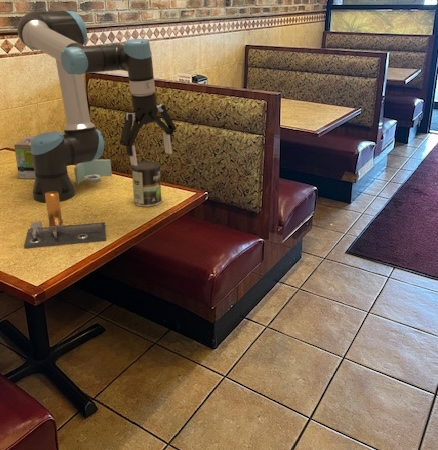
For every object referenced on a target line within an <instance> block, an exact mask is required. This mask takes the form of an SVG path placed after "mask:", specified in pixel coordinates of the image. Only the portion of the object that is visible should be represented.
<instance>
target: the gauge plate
mask: <svg viewBox="0 0 438 450" xmlns="http://www.w3.org/2000/svg"><path fill="white" fill-rule="evenodd" d="M30 223H31V224H30V227H29V228H28V230H27V233H26V236H25V241H24V244H23V246H24V249H32V248H42V247H53V246H63V245H73V244H83V243H94V242H95V243H96V242H106V241H107V236H106V235H107V234H106V233H107V232H106V223H105V222H95V223H94V222H92V223H80V224H71V225H63V230H57V238H56V239H55V238H54V234H53V231H49V226H46V227H43V224H42V221H33V222H30Z"/></svg>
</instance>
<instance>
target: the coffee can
mask: <svg viewBox="0 0 438 450" xmlns="http://www.w3.org/2000/svg"><path fill="white" fill-rule="evenodd" d="M130 165H131V166H130V167H131V174H132V177H131V178H132V189H133V190H132V191H133V204H134V205H136V206H138V207H148V208H149V207H155V206H158V205H160V204H161V203H162V201H163V200H162V187H161V186H162V183H161V164H160V163H159V162H157V161H148V160H144V161H137V166H134V165H132V164H130Z"/></svg>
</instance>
